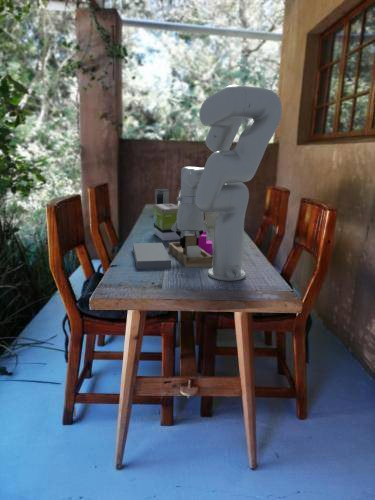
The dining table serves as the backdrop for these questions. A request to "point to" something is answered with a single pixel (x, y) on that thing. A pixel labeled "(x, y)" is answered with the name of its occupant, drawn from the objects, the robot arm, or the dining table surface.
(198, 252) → the grey box
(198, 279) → the dining table surface
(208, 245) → the toy block
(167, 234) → the tea box
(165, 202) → the grey hollow cube
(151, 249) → the block
